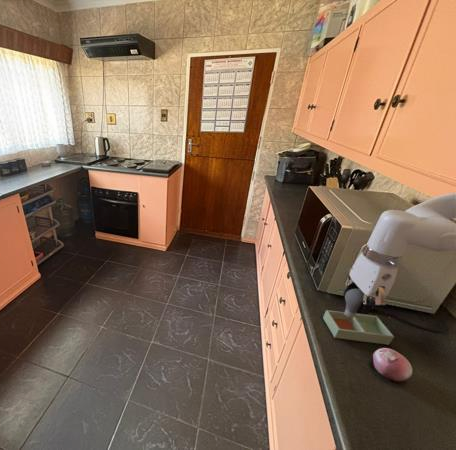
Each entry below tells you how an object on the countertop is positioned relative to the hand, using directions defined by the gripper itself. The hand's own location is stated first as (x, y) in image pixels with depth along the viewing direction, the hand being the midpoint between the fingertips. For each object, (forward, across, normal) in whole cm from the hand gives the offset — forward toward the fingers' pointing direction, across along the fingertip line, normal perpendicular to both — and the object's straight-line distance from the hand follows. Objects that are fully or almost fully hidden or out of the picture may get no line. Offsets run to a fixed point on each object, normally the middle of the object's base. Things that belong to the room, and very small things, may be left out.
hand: (354, 303), depth 75 cm
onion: (+11, -14, -5) cm, 18 cm away
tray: (+11, 0, -4) cm, 11 cm away
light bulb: (+5, 0, 0) cm, 5 cm away
